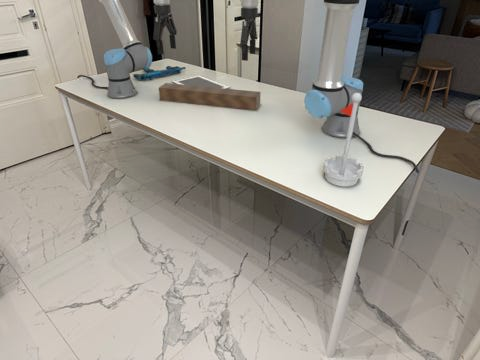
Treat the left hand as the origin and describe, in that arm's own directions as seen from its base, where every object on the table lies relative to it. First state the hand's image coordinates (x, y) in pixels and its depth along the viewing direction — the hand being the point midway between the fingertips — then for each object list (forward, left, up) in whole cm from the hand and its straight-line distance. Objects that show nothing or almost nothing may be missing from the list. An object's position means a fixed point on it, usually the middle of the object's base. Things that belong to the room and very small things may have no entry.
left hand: (167, 51), depth 171 cm
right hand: (+39, +17, 0) cm, 43 cm away
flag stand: (+107, -14, -25) cm, 111 cm away
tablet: (-6, +26, -25) cm, 36 cm away
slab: (+19, +9, -25) cm, 33 cm away
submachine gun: (-44, +25, -25) cm, 56 cm away
